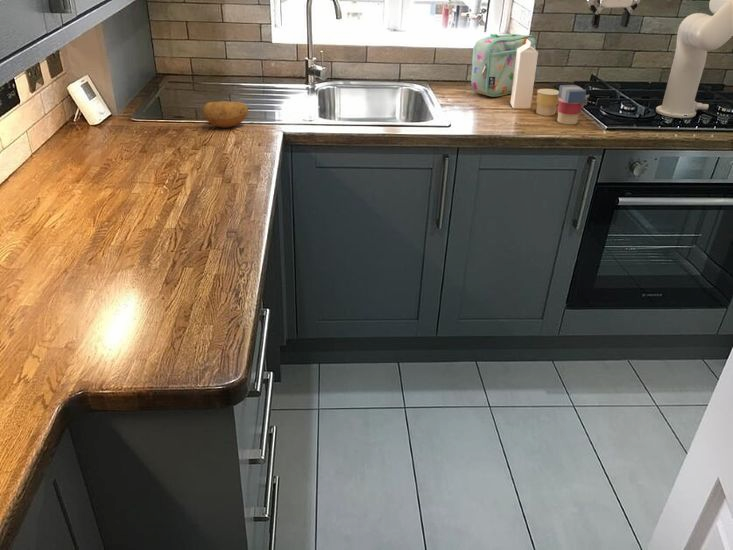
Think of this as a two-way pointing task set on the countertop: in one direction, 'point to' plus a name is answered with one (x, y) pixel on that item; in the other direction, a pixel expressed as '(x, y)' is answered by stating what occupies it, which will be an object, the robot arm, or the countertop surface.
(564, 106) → the raspberry yogurt
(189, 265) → the countertop surface
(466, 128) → the countertop surface
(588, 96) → the egg carton
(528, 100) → the milk
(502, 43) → the lunch box
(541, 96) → the vanilla yogurt
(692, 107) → the robot arm
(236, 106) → the potato
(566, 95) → the block
